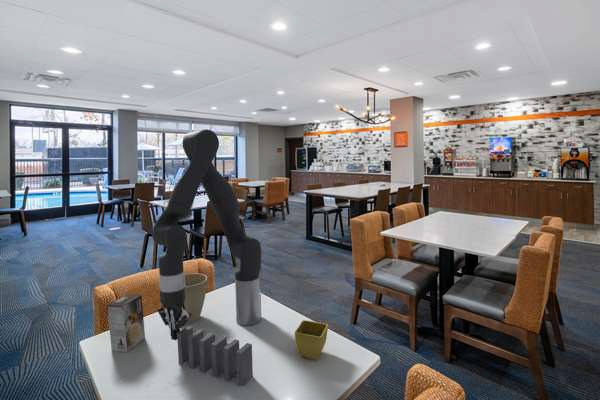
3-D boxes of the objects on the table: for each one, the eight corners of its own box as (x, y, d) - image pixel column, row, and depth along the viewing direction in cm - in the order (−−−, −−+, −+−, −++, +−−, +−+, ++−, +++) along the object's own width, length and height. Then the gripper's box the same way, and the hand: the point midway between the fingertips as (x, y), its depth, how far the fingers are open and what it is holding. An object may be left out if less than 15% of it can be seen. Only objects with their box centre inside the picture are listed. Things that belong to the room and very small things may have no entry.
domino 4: (223, 366, 101) (222, 335, 100) (228, 368, 101) (226, 336, 99) (212, 376, 97) (211, 343, 96) (216, 377, 96) (215, 345, 95)
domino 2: (201, 358, 105) (200, 329, 104) (205, 360, 105) (203, 330, 103) (189, 367, 101) (188, 336, 100) (193, 369, 100) (191, 337, 99)
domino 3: (212, 362, 103) (211, 332, 102) (216, 364, 103) (215, 333, 101) (200, 371, 99) (199, 340, 98) (205, 373, 98) (203, 341, 97)
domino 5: (235, 370, 99) (234, 339, 98) (240, 372, 99) (239, 340, 97) (224, 380, 95) (223, 347, 94) (229, 382, 94) (228, 349, 93)
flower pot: (328, 349, 110) (328, 323, 109) (321, 365, 102) (321, 337, 101) (303, 344, 113) (303, 319, 112) (294, 359, 105) (294, 332, 103)
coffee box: (129, 336, 120) (126, 293, 118) (145, 337, 118) (142, 294, 116) (110, 350, 111) (106, 304, 109) (127, 352, 109) (123, 305, 107)
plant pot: (193, 306, 143) (191, 270, 141) (216, 316, 134) (215, 277, 132) (161, 320, 131) (159, 281, 129) (184, 331, 122) (182, 290, 120)
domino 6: (248, 375, 97) (247, 342, 96) (252, 376, 97) (251, 344, 95) (237, 385, 93) (236, 351, 92) (242, 387, 92) (241, 353, 91)
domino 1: (190, 355, 107) (189, 325, 106) (194, 356, 107) (193, 326, 106) (178, 363, 103) (177, 333, 102) (182, 365, 102) (180, 334, 101)
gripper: (197, 285, 104) (199, 338, 107) (167, 279, 110) (170, 328, 113) (178, 294, 98) (181, 350, 100) (147, 287, 104) (151, 339, 106)
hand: (175, 338), depth 106 cm, fingers closed
